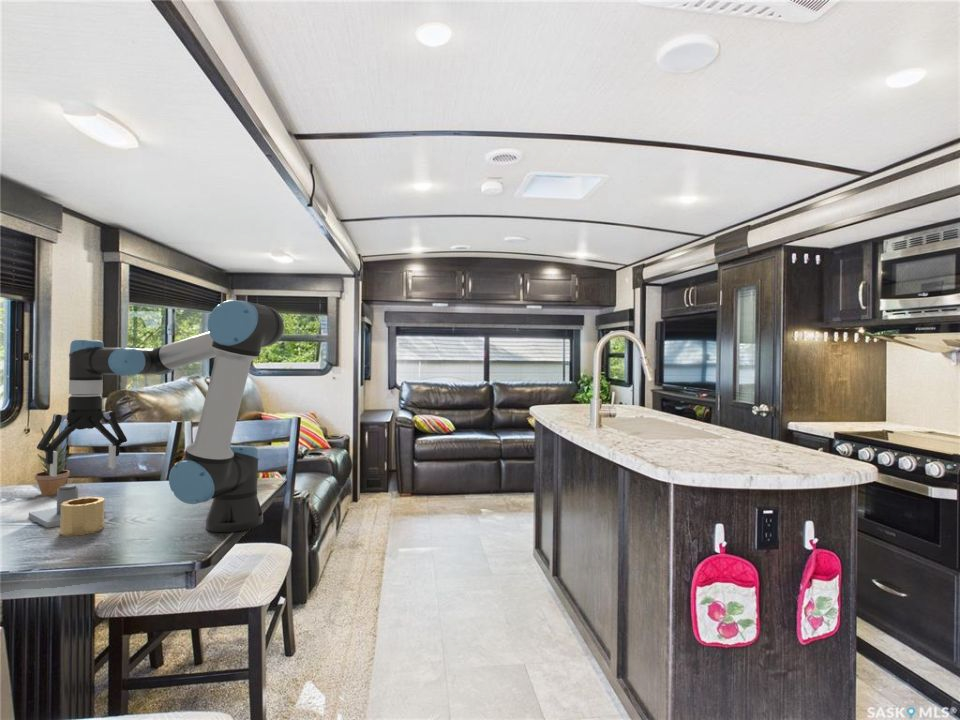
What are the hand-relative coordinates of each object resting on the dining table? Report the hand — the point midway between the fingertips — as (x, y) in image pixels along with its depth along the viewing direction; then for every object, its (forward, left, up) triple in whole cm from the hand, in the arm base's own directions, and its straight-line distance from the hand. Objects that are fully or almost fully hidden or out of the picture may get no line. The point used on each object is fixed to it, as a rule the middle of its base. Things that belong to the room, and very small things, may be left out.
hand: (83, 471), depth 144 cm
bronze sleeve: (0, 0, -16) cm, 16 cm away
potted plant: (+55, -9, -16) cm, 58 cm away
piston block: (+18, -2, -16) cm, 24 cm away
